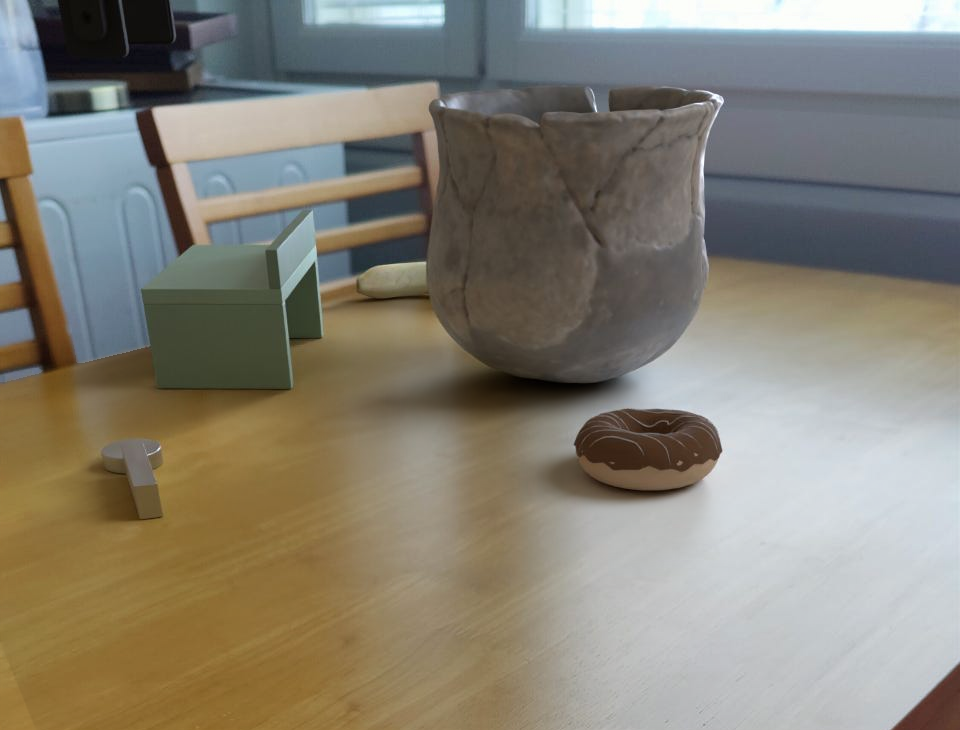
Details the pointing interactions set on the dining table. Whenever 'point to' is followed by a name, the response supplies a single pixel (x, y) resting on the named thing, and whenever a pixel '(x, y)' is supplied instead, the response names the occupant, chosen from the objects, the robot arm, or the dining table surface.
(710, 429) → the donut
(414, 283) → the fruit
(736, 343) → the dining table surface
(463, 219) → the pot
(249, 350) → the green toy chair
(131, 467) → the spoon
